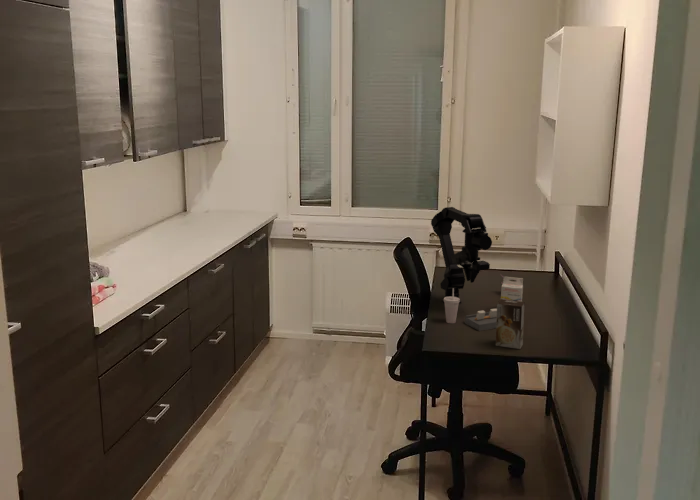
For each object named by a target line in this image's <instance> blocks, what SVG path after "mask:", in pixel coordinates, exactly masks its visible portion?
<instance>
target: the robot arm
mask: <svg viewBox="0 0 700 500" xmlns="http://www.w3.org/2000/svg"><path fill="white" fill-rule="evenodd" d="M454 221H456V222H457V223H460V224H461V225H460V226H461V227H463V228H464V229H463V230H462V233H464V245H463V246H462V247H461V250H460V251H458V252H455V250H454V246H453V241H452V238H451V232H452V228H453V223H454ZM430 225H431V227H432V230H433V232H434V233H435V235H437V236H438V240H439V243H440V248H441V252H442V255H443V261H444V265H445V270H444V272H443V277H444V278H443V280H442V281H441V282H440V288H441V289H442V290H444V298H445V297H449V296H452V293H453V288H454V297H458V298H459V299H460V294H459V293H460V290H463V289H464V286H465V283H466V281H467V282H470V283H474V282H475V280H476V278H477V276H478V275H479V273H480V272H481V271H484V270H490V267H491V266H490V265H491V264H490V263H489V262H488V261H486V260H481V257H480V256H479V251H482V250H483V251H487V250H489V249H490V248H491V247H492V243H493V240H492V238H491V237H490V236H489V233H488V232H487V227H486V224H485V223H484V220H483V217H482V215H481V214H479V213H467V212H464V211H462V210H460V209H457V208H455V207H453V206H447V207H444V208H442V209H441V211H439V212H438V213H436V214H435V215H434V216H433V218H431V220H430ZM460 266H461V267H460ZM444 298H443V299H441V302H443V303H444ZM459 304H462V300H460V302H459Z"/></svg>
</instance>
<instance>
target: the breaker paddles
mask: <svg viewBox="0 0 700 500" xmlns="http://www.w3.org/2000/svg"><path fill="white" fill-rule="evenodd" d="M485 312H486V311H485V310H483V309H482V310H478V311H476V314H477V315H476V318H475V320H481V319H487V318H493V317H497V308H490V310H489V311H488V312H489V316H485ZM484 316H485V317H484Z"/></svg>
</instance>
